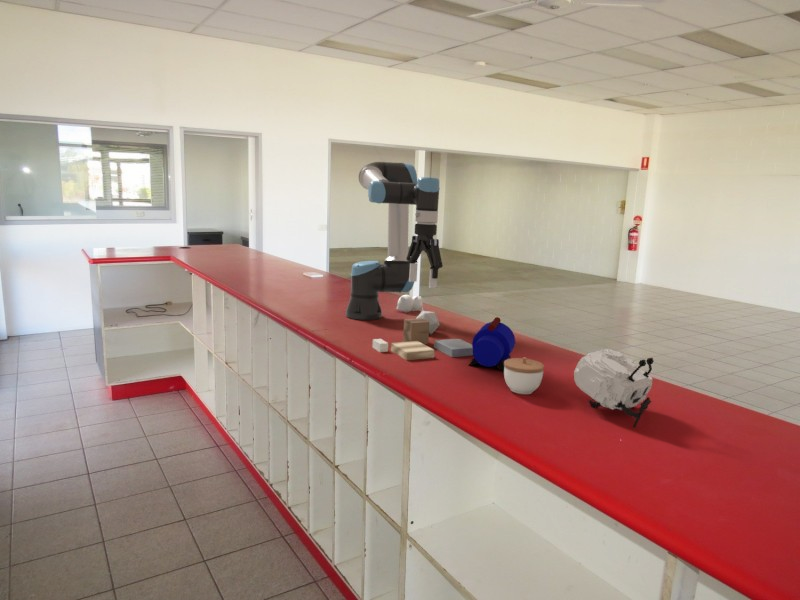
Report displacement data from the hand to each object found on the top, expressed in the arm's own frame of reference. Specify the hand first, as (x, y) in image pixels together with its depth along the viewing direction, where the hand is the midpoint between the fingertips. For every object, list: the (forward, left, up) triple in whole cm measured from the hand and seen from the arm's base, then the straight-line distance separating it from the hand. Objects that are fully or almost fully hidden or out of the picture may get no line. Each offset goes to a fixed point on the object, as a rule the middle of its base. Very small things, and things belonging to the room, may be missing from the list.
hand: (422, 284), depth 197 cm
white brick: (+5, -17, -21) cm, 28 cm away
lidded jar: (+54, +4, -21) cm, 58 cm away
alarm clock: (+32, +9, -21) cm, 39 cm away
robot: (+75, +18, -21) cm, 80 cm away
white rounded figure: (-48, +21, -21) cm, 56 cm away
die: (-12, +10, -21) cm, 26 cm away
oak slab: (+13, -9, -21) cm, 26 cm away
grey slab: (+14, +7, -21) cm, 26 cm away
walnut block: (0, -1, -21) cm, 21 cm away
